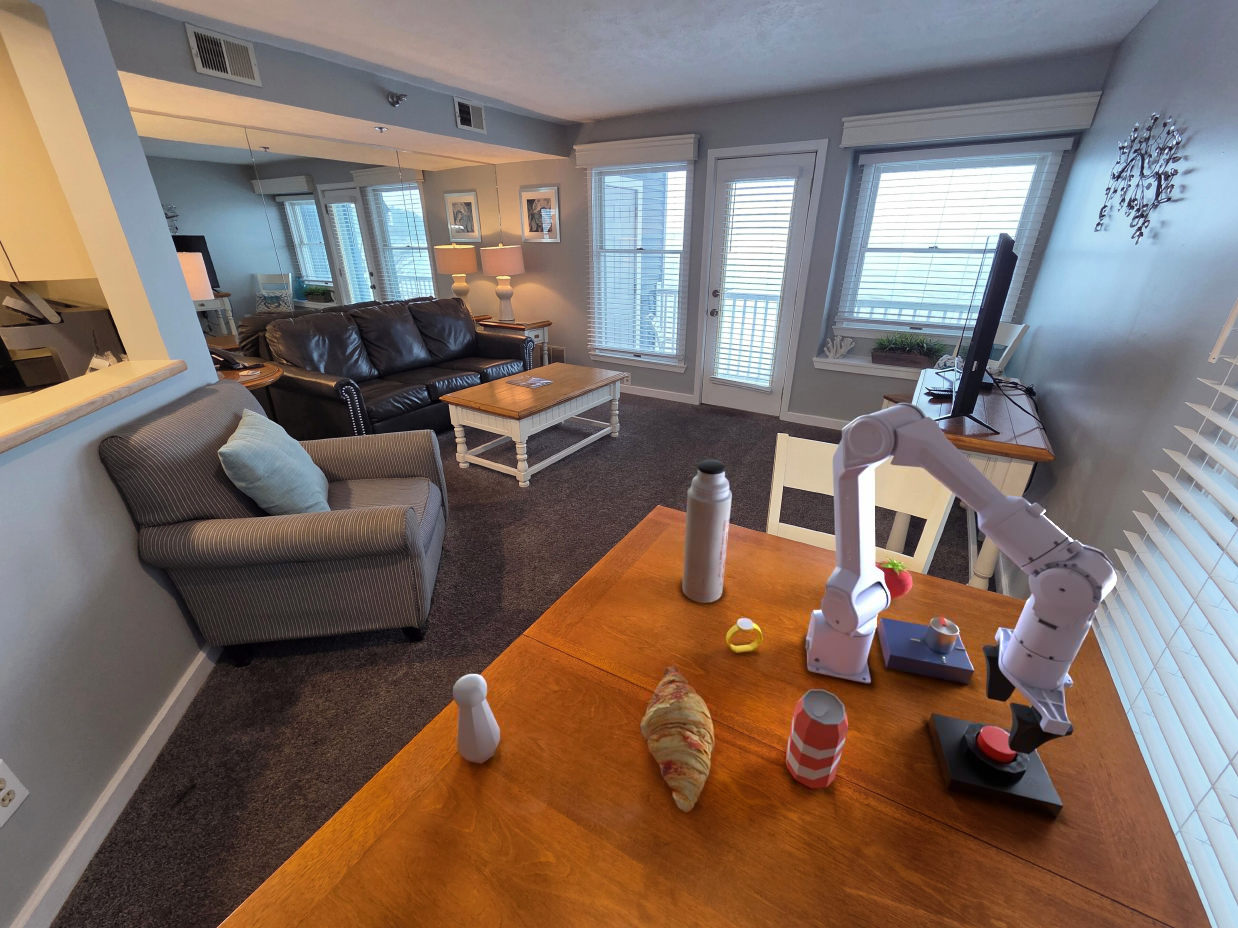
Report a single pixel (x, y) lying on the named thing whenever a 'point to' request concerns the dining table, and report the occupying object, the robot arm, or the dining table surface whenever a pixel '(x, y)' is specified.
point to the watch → (744, 626)
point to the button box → (990, 768)
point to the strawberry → (895, 577)
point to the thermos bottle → (706, 532)
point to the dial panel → (921, 652)
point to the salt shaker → (475, 720)
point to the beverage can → (816, 738)
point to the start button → (995, 744)
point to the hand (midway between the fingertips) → (1006, 722)
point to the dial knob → (941, 635)
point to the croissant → (679, 737)
